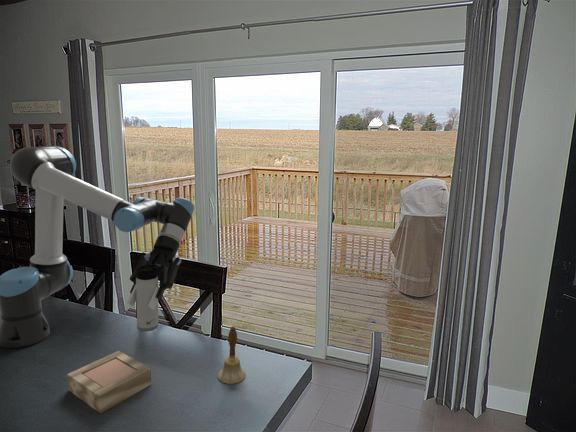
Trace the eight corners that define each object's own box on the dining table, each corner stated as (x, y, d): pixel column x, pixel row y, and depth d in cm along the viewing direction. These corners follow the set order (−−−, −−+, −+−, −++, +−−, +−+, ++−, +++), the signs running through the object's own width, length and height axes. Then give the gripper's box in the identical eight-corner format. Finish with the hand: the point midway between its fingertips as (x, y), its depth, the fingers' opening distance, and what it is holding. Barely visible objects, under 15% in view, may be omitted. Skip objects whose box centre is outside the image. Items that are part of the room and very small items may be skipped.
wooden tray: (68, 390, 112) (67, 374, 111) (119, 365, 124) (118, 350, 123) (100, 413, 103) (99, 396, 102) (151, 384, 116) (150, 368, 115)
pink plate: (83, 378, 112) (83, 373, 112) (115, 363, 120) (115, 358, 120) (103, 392, 107) (103, 387, 106) (136, 375, 114) (135, 370, 114)
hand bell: (250, 371, 124) (251, 323, 121) (238, 387, 116) (238, 336, 113) (225, 365, 127) (226, 318, 123) (212, 380, 119) (212, 330, 116)
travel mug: (152, 333, 122) (152, 270, 118) (132, 330, 123) (131, 267, 119) (163, 324, 128) (162, 264, 124) (144, 320, 129) (143, 261, 125)
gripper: (199, 249, 133) (174, 316, 121) (148, 242, 138) (118, 306, 126) (191, 237, 127) (164, 306, 115) (138, 231, 132) (106, 296, 119)
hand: (140, 306), depth 120 cm, fingers closed on travel mug, 6 cm apart
